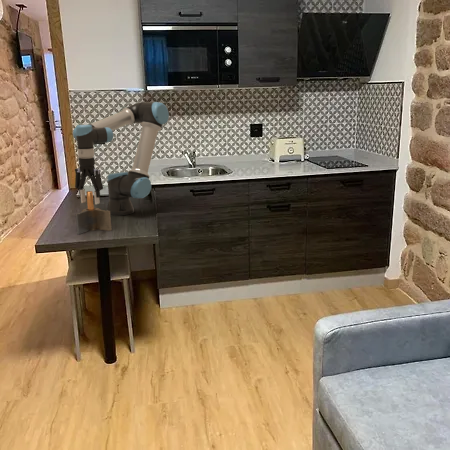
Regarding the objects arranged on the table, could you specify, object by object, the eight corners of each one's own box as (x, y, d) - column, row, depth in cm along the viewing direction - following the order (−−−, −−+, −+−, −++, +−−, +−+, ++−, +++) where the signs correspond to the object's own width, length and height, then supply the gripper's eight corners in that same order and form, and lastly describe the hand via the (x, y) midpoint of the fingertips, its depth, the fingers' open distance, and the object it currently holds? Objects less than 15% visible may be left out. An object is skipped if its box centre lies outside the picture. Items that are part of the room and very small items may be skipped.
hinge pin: (92, 227, 240) (88, 190, 235) (96, 227, 239) (93, 191, 234) (88, 228, 237) (84, 192, 232) (93, 229, 236) (89, 192, 231)
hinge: (91, 226, 242) (89, 207, 239) (114, 229, 237) (113, 209, 234) (73, 233, 229) (71, 213, 227) (97, 236, 224) (95, 216, 221)
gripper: (64, 157, 229) (68, 203, 235) (99, 159, 221) (102, 206, 227) (74, 155, 235) (78, 199, 242) (108, 157, 228) (112, 203, 234)
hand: (90, 203), depth 235 cm, fingers open, 8 cm apart
